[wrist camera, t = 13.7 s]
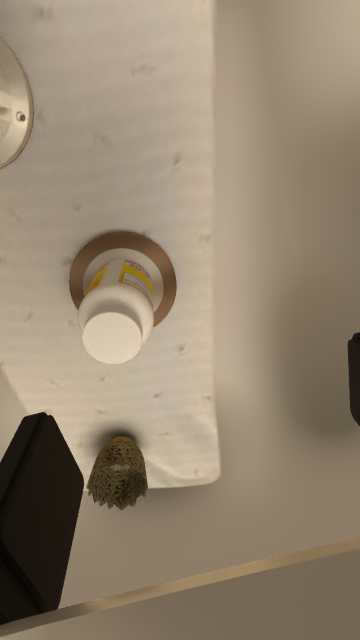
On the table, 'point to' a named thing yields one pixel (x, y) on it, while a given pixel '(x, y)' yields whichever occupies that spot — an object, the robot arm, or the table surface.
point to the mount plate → (130, 249)
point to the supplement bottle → (117, 312)
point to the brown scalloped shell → (118, 474)
